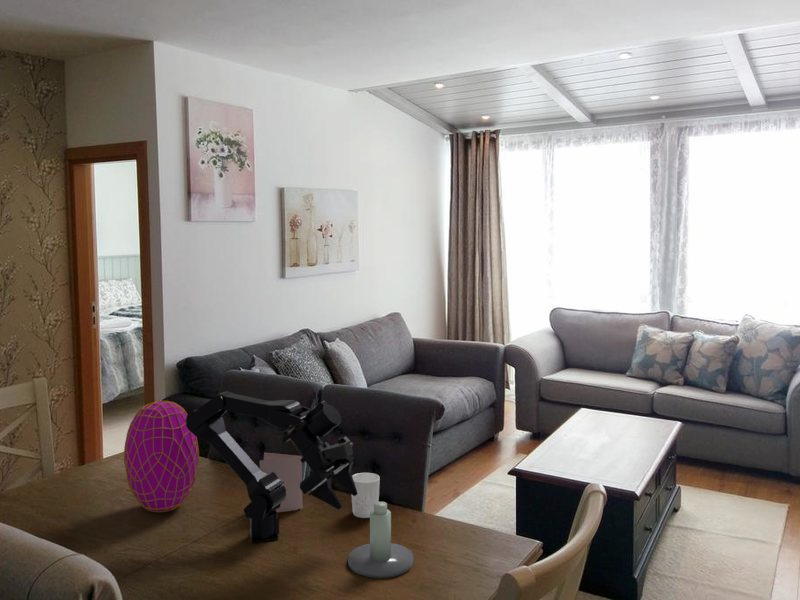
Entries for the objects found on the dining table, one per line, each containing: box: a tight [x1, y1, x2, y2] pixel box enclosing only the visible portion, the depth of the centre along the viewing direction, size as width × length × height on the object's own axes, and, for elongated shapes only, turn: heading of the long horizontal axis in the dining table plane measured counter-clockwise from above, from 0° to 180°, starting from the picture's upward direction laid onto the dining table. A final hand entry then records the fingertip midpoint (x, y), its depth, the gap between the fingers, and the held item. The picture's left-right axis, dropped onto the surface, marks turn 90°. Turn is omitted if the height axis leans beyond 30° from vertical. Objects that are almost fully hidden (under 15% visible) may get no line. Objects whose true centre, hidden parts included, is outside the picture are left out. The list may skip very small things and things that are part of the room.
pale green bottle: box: [369, 501, 392, 562], centre depth 154 cm, size 5×5×12 cm
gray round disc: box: [347, 542, 414, 579], centre depth 155 cm, size 15×15×1 cm
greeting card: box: [259, 452, 303, 513], centre depth 184 cm, size 11×7×15 cm, turn 74°
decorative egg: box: [123, 400, 200, 513], centre depth 184 cm, size 19×19×30 cm
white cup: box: [350, 472, 381, 519], centre depth 182 cm, size 8×8×10 cm
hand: (348, 501), depth 159 cm, fingers open, 9 cm apart
